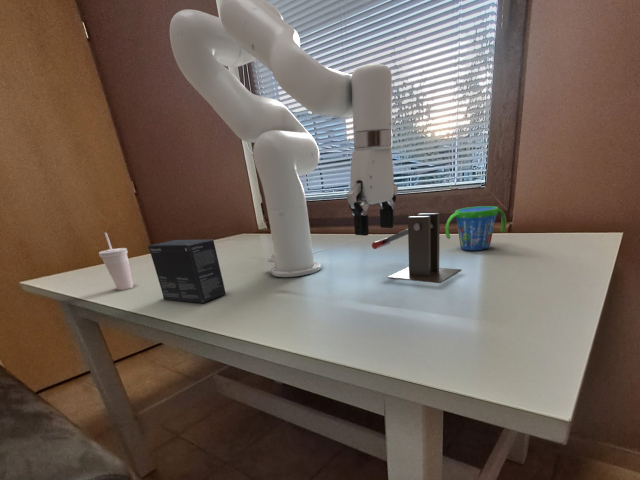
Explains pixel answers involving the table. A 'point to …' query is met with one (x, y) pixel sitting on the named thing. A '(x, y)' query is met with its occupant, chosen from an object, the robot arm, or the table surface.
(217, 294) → the small box
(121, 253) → the smoothie
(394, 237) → the tap lever
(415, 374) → the table surface
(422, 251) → the bracket
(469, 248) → the snack cup
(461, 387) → the table surface
